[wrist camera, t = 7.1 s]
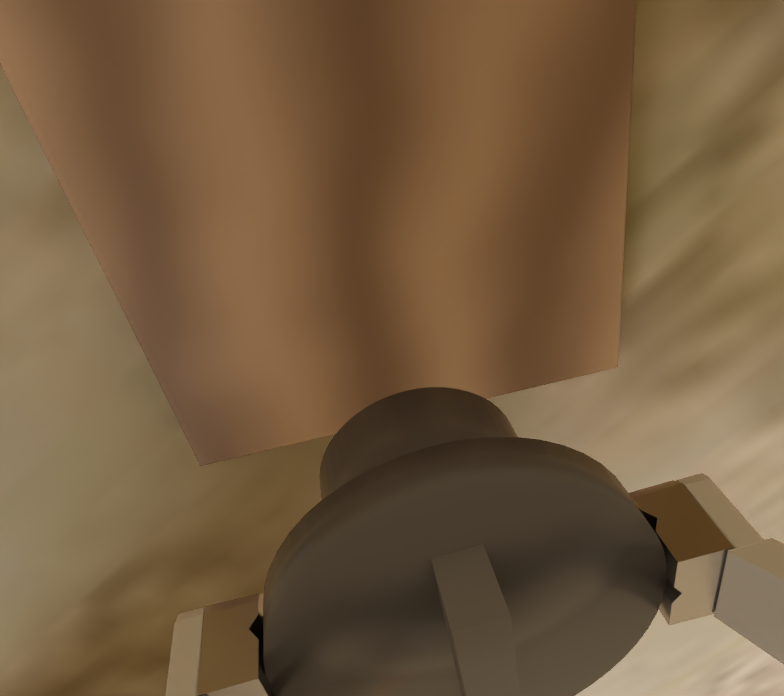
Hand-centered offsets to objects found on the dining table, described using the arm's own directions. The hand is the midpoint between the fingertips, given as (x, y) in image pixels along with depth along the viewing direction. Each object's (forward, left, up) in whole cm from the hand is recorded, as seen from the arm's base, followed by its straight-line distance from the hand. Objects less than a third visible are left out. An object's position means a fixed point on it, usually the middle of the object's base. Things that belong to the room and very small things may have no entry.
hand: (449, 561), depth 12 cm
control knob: (0, 0, -3) cm, 2 cm away
